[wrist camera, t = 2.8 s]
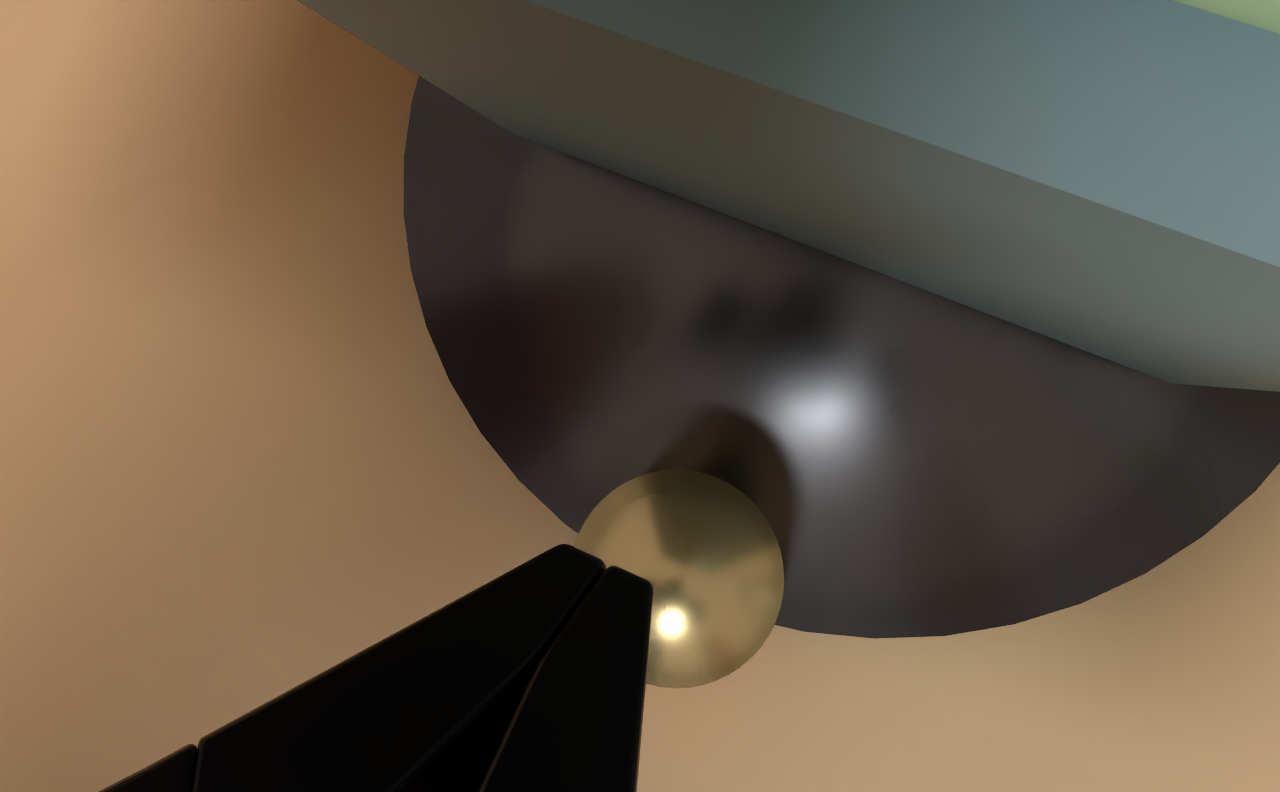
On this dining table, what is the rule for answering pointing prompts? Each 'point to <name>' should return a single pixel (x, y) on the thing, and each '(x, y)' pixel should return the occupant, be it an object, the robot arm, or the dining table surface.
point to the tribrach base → (791, 412)
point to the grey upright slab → (927, 143)
